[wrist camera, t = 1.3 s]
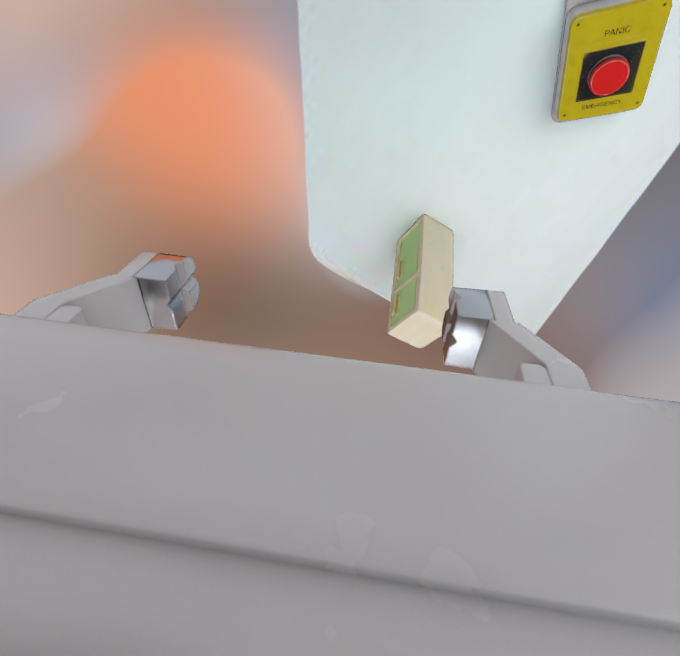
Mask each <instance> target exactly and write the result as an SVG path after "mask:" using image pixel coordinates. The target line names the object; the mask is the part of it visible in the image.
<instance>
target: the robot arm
mask: <svg viewBox="0 0 680 656" xmlns="http://www.w3.org/2000/svg"><path fill="white" fill-rule="evenodd" d="M195 270H196V269H195V265H194V261H193V260H192V259H191V258H190V257H185V256H177V255H170V254H162V253H154V252H142V253H141V254H139V255H138V256H137V257H136V258H135V259H134V260H133V261H131V262H130V263H129V264H128V265H127V266H126V267H125V268H124V269H122V270H121V271H120V272H119V273H118V274H117V275H109V276H106V277H103V278H100V279H97V280H93V281H90V282H88V283H84V284H81V285H78V286H75V287H72V288H69V289H65V290H63V291H59V292H56V293H53V294H50V295H47V296H44V297H41V298H38V299H34V300H33V301H32V302H30V303H29V304H28V305H26V306H25V307H23V308H22V309H21V310H20V311H18V312H17V313H16V314H14V315H7V314H0V656H680V402H674V401H666V400H659V399H651V398H643V397H636V396H628V395H620V394H612V393H605V392H598V391H592V390H591V388H590V385H589V383H588V381H587V379H586V377H585V375H584V372H583V370H582V369H581V368H579V367H578V366H577V365H575V364H574V363H573V362H571V361H570V360H569V359H567V358H566V357H565V356H563V355H562V354H561V353H559V352H558V351H556V350H555V349H554V348H552V347H551V346H550V345H548V344H547V343H546V342H544V341H543V340H542V339H540V338H539V337H537V336H536V335H535V334H533V333H532V332H531V331H529V330H528V329H527V328H525V327H524V326H523V325H521V324H520V323H515V322H514V319H513V316H512V313H511V310H510V307H509V304H508V301H507V298H506V295H505V293H504V292H503V291H490V290H479V289H468V288H457V287H452V288H451V291H450V294H449V298H448V301H449V309H447V310H446V311H445V314H444V319H443V325H442V340H443V342H445V344H444V348H443V356H444V364H445V365H450V366H456V367H463V368H470V369H473V371H474V372H475V374H476V375H477V376H475V375H467V374H460V373H452V372H445V371H437V370H429V369H422V368H414V367H406V366H398V365H390V364H383V363H375V362H367V361H360V360H352V359H345V358H337V357H329V356H321V355H313V354H305V353H299V352H291V351H283V350H275V349H268V348H260V347H252V346H244V345H237V344H230V343H222V342H214V341H207V340H199V339H191V338H183V337H175V336H168V335H160V334H153V333H146V332H147V331H149V330H151V329H152V328H160V329H161V328H162V329H170V330H178V329H179V328H180V327H181V325H182V324H183V323H184V321H185V320H186V319H187V315H186V313H187V312H189V311H191V310H193V309H194V307H195V306H196V305H197V302H198V299H199V285H198V282H197V280H196V279H195V278H194V277H193V276H192V275H193V273H194V272H195Z"/></svg>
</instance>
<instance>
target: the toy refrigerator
mask: <svg viewBox="0 0 680 656" xmlns="http://www.w3.org/2000/svg"><path fill="white" fill-rule="evenodd" d="M452 287H453V231H452V230H450V229H448V228H447V227H445V226H444V225H442V224H440V223H439V222H437V221H435V220H434V219H432V218H430V217H429V216H427V215H425V214H424V215H423V216H422V217H421V218H420V219H419V220H418V221H417V222H416V223H415V224H414V225H413V226H412V227H411V228H410V229H409V230H408V231H407V232H406V233H405V234H404V235H403V236H402V237H401V238H400V239H399V240H398V242H397V250H396V260H395V269H394V278H393V287H392V295H391V305H390V313H389V323H388V334H390V335H391V336H394V337H396V338H398V339H400V340H402V341H404V342H406V343H409V344H411V345H413V346H415V347H417V348H422V347H424V346H426V345H428V344H429V343H431V342H432V341H434V340H435V339H437V338H439V337H440V336H442V325H443V319H444V314H445V311H446V310H447V309H449V301H448V298H449V294H450V291H451V288H452Z"/></svg>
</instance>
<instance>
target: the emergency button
mask: <svg viewBox="0 0 680 656" xmlns="http://www.w3.org/2000/svg"><path fill="white" fill-rule="evenodd" d="M671 7H672V0H567V1H566V8H565V16H564V23H563V31H562V38H561V46H560V53H559V61H558V68H557V76H556V83H555V91H554V98H553V106H552V118H553V120H554V121H555V122H565V121H571V120H577V119H583V118H589V117H595V116H601V115H607V114H613V113H619V112H625V111H629V110H633V109H636V108H638V107H639V106H640V105H641V104H642V102H643V99H644V96H645V93H646V89H647V86H648V83H649V80H650V76H651V73H652V70H653V66H654V63H655V60H656V56H657V53H658V50H659V46H660V43H661V40H662V37H663V33H664V30H665V27H666V23H667V20H668V17H669V13H670V10H671Z"/></svg>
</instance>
